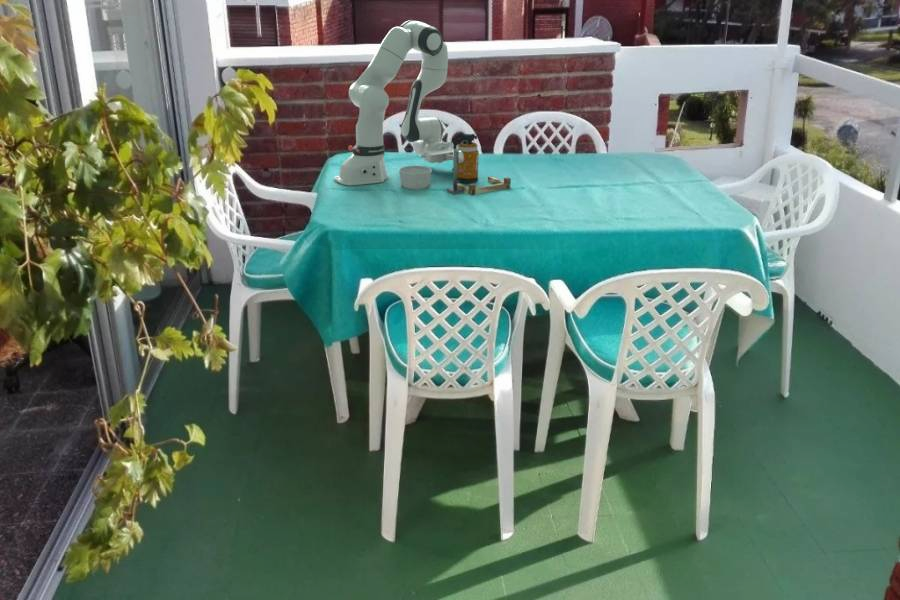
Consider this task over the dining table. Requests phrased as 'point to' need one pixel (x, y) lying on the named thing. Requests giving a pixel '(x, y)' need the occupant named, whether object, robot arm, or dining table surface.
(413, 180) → the ramekin
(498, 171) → the dining table surface
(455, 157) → the mirror on stand
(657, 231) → the dining table surface
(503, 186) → the cradle
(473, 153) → the canister
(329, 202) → the dining table surface
